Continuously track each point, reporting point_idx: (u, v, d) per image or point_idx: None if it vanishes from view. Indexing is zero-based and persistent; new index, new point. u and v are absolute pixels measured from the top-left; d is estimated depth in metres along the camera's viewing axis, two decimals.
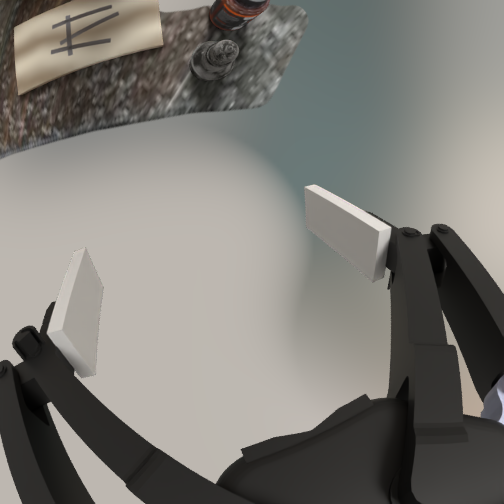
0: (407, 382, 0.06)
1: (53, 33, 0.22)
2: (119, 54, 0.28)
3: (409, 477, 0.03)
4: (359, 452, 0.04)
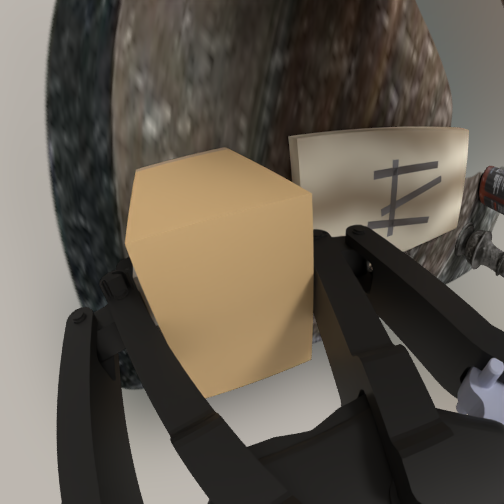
0: (362, 393, 0.06)
1: (374, 189, 0.20)
2: (428, 239, 0.26)
3: None
4: (360, 452, 0.04)
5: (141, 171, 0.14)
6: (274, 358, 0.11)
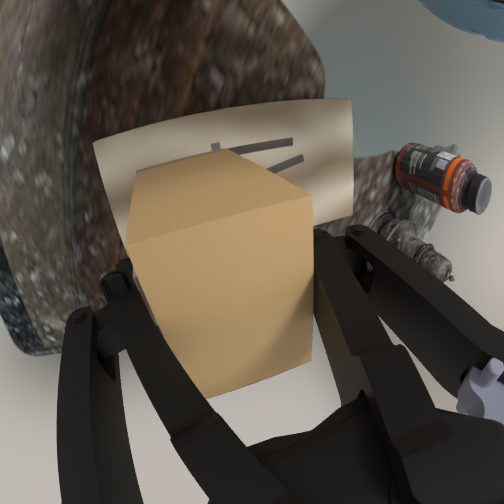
0: (362, 393, 0.06)
1: None
2: None
3: None
4: (359, 452, 0.04)
5: (141, 172, 0.14)
6: (274, 359, 0.11)
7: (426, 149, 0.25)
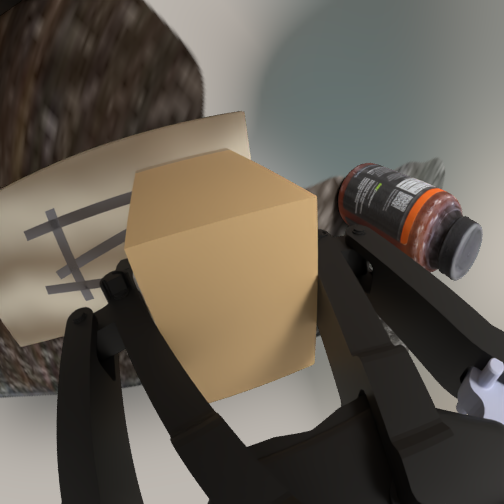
0: (362, 393, 0.06)
1: (34, 251, 0.14)
2: None
3: None
4: (360, 452, 0.04)
5: (141, 172, 0.14)
6: (277, 363, 0.11)
7: (382, 175, 0.19)
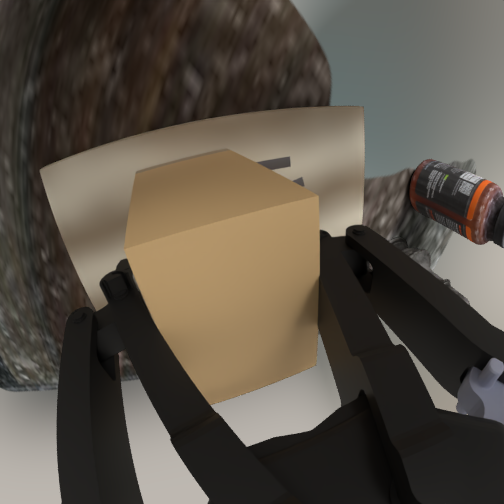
0: (362, 393, 0.06)
1: None
2: None
3: None
4: (360, 452, 0.04)
5: (141, 173, 0.14)
6: (279, 364, 0.11)
7: (446, 168, 0.21)
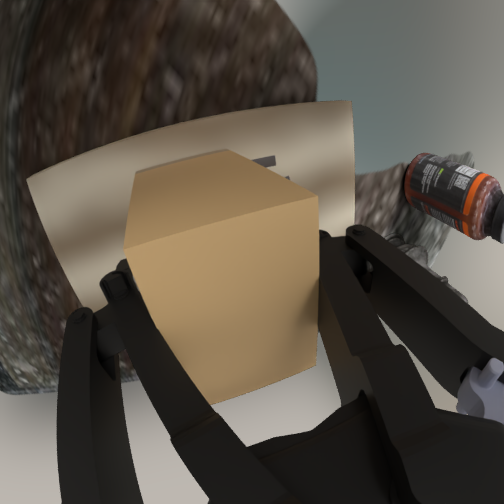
0: (362, 393, 0.06)
1: None
2: None
3: None
4: (359, 452, 0.04)
5: (141, 173, 0.14)
6: (278, 365, 0.11)
7: (441, 162, 0.20)
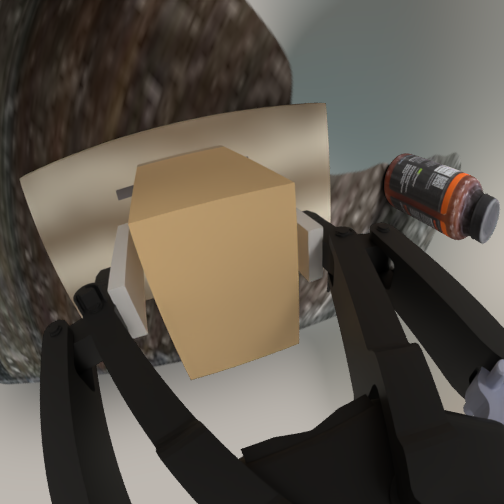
0: (375, 389, 0.06)
1: (124, 211, 0.17)
2: None
3: (409, 477, 0.03)
4: (359, 452, 0.04)
5: (142, 166, 0.15)
6: (263, 339, 0.12)
7: (421, 162, 0.21)
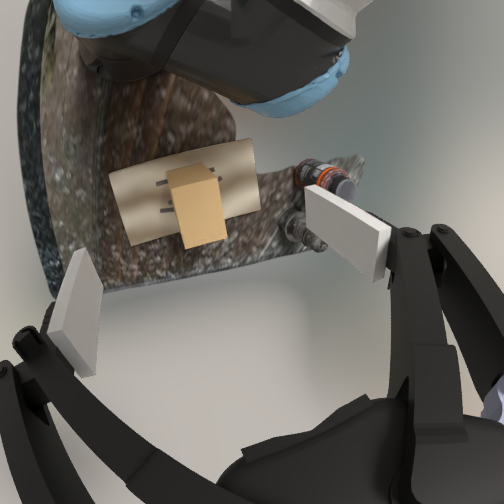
0: (407, 382, 0.06)
1: (158, 191, 0.40)
2: (225, 218, 0.46)
3: (409, 477, 0.03)
4: (359, 452, 0.04)
5: (168, 172, 0.38)
6: (212, 232, 0.35)
7: (312, 163, 0.44)
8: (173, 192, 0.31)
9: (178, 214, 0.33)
